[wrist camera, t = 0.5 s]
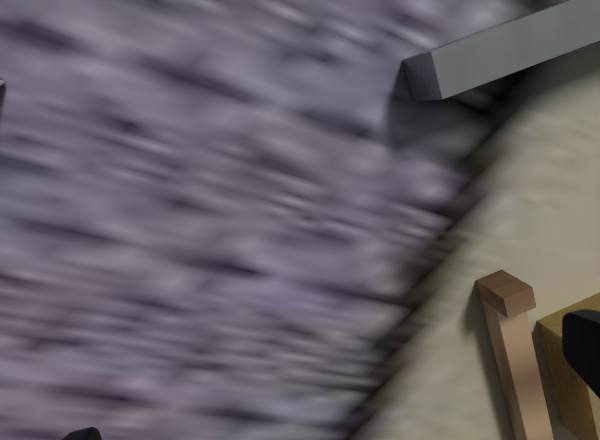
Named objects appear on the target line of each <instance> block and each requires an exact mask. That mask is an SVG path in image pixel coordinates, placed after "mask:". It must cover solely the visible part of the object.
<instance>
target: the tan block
mask: <svg viewBox="0 0 600 440" xmlns="http://www.w3.org/2000/svg"><path fill="white" fill-rule="evenodd" d="M580 309H590V310H596V311H600V293H598V294H595V295H593V296H591V297H589V298H586V299H584V300H582V301H580V302H578V303H575V304H573V305H571V306H569V307H566V308H564V309H562V310H560V311H557V312H555V313H553V314H551V315H548V316H546V317H544V318H542V319H539V320H537V324H538V328H539V332H540V336H541V340H542V344H543V349H544V353H545V357H546V361H547V365H548V369H549V374H550V378H551V382H552V386H553V390H554V394H555V399H556V403H557V407H558V411H559V415H560V419H561V424H562V425H563V426H564V427H565V428H566V429H568V430H569V431H570V432H571V433H572V434H573V435H574V436H575V437H576V438H577V439H578V440H600V399H599V398H598V397H597V396H596V394H595V393H594V392H593V391H592V390H591V389H590V388H589V387H588V385H587V384H586V383H585V382H584V381H583V380H582V379H581V377H580V376H579V375H578V374H577V373H576V372H575V371H574V370H573V368H572V367H571V366H570V365H569V364H568V363H567V361H566V359H565V357H564V355H563V351H562V318H563V316H564V315H565V314H566V313H568V312H572V311H576V310H580Z"/></svg>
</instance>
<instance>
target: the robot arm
mask: <svg viewBox="0 0 600 440" xmlns="http://www.w3.org/2000/svg"><path fill="white" fill-rule="evenodd" d="M562 351H563V355H564V357H565V359H566V361H567V363H568V364H569V365H570V366H571V367H572V368H573V370H574V371H575V372H576V373H577V374H578V375H579V376H580V377H581V379H582V380H583V381H584V382H585V383H586V384H587V385H588V387H589V388H590V389H591V390H592V391H593V392H594V393H595V394H596V396H597V397H598V398H599V399H600V311H596V310H590V309H580V310H576V311H572V312H568V313H566V314H565V315H564V316H563V318H562ZM62 440H102V438H101V435H100V432H99V431H98V429H97V428H95V427H90V428H85V429H81V430H77V431H73V432H71V433H69V434H68V435H67V436H66V437H64V438H63V439H62Z"/></svg>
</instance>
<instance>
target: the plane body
mask: <svg viewBox="0 0 600 440" xmlns="http://www.w3.org/2000/svg"><path fill="white" fill-rule="evenodd" d="M476 282H477V286H478V290H479V294H480V298H481V302H482V306H483V310H484V314H485V318H486V322H487V326H488V330H489V334H490V338H491V342H492V346H493V350H494V354H495V358H496V362H497V366H498V370H499V374H500V378H501V383H502V387H503V391H504V395H505V399H506V403H507V407H508V411H509V415H510V419H511V423H512V427H513V431H514V435H515V439H516V440H554V438H553V433H552V429H551V424H550V419H549V415H548V410H547V406H546V401H545V396H544V392H543V387H542V382H541V378H540V373H539V369H538V364H537V359H536V355H535V350H534V345H533V341H532V336H531V332H530V327H529V322H528V318H527V313H526V311H528V310H531V309H533V308H536V303H535V298H534V294H533V289H532V287H531V286H529V285H528V284H526V283H524V282H522V281H521V280H519V279H517V278H515V277H514V276H512V275H510V274H508V273H507V272H505V271H503V270H500V271H498V272H495V273H493V274H490V275H488V276H485V277H483V278H481V279H478V280H476Z"/></svg>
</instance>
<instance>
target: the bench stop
mask: <svg viewBox="0 0 600 440" xmlns="http://www.w3.org/2000/svg"><path fill="white" fill-rule="evenodd" d="M597 41H600V0H565V1H562V2H560V3H557V4H554V5H551V6H549V7H546V8H543V9H541V10H538V11H535V12H532V13H530V14H527V15H524V16H521V17H519V18H516V19H513V20H510V21H508V22H505V23H502V24H499V25H497V26H494V27H491V28H489V29H486V30H483V31H480V32H478V33H475V34H472V35H469V36H467V37H464V38H461V39H458V40H456V41H453V42H450V43H448V44H445V45H442V46H439V47H437V48H434V49H431V50H428V51H426V52H423V53H420V54H417V55H415V56H412V57H409V58H406V59H404V60H403V64H404V68H405V71H406V75H407V79H408V83H409V87H410V91H411V95H412V98H413V101H424V100H440V99H445V98H448V97H450V96H453V95H456V94H458V93H461V92H464V91H466V90H469V89H472V88H474V87H477V86H480V85H482V84H485V83H488V82H490V81H493V80H496V79H498V78H501V77H504V76H506V75H509V74H512V73H514V72H517V71H520V70H522V69H525V68H528V67H530V66H533V65H536V64H538V63H541V62H544V61H546V60H549V59H552V58H554V57H557V56H560V55H562V54H565V53H568V52H570V51H573V50H576V49H578V48H581V47H584V46H586V45H589V44H592V43H594V42H597Z"/></svg>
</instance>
